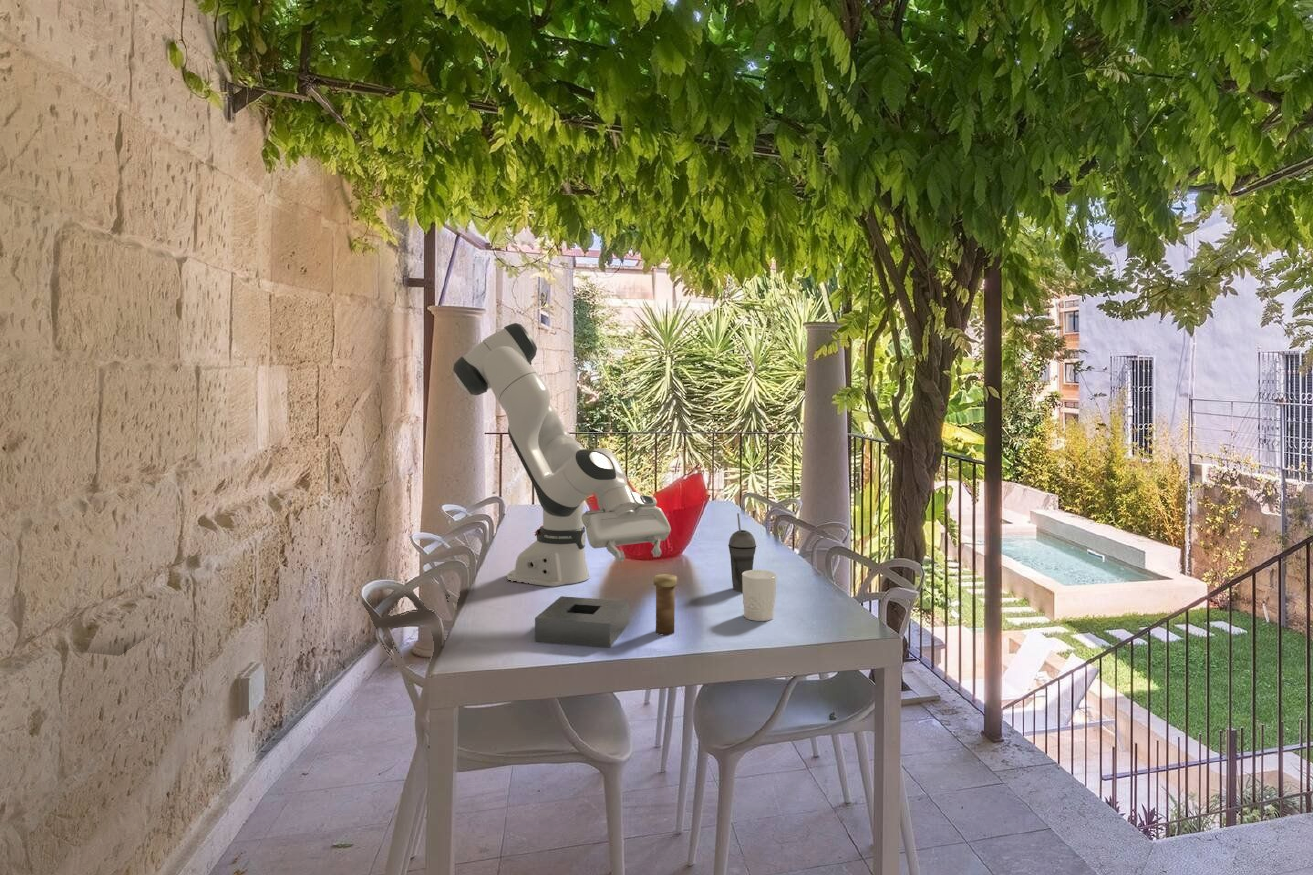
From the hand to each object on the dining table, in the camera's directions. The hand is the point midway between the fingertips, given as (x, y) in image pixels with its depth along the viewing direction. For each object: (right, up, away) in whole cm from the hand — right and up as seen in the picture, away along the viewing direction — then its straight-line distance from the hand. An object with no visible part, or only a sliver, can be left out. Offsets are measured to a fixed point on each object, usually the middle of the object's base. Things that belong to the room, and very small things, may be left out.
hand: (639, 557), depth 163 cm
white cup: (+27, -15, +4) cm, 31 cm away
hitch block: (-12, -15, -7) cm, 20 cm away
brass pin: (+6, -15, -6) cm, 17 cm away
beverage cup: (+26, -13, +27) cm, 40 cm away
